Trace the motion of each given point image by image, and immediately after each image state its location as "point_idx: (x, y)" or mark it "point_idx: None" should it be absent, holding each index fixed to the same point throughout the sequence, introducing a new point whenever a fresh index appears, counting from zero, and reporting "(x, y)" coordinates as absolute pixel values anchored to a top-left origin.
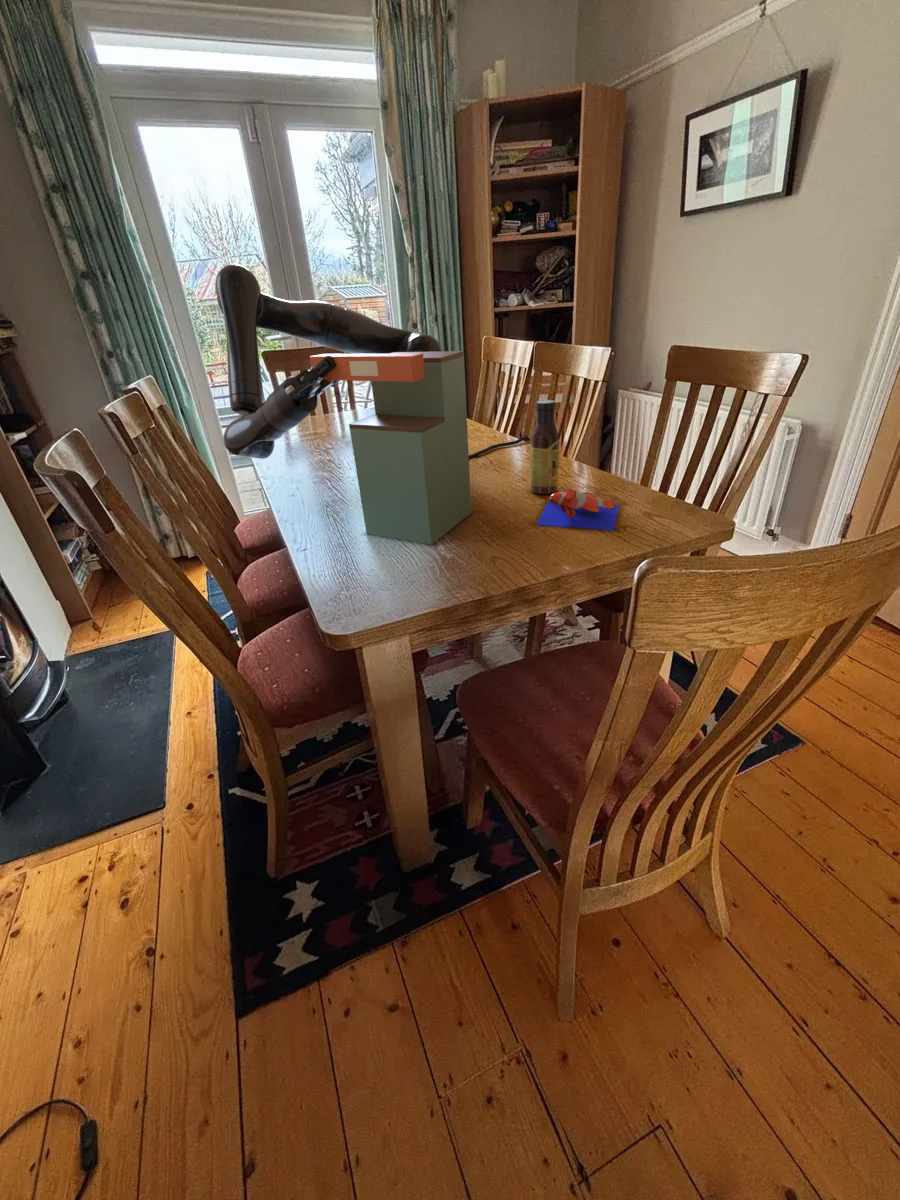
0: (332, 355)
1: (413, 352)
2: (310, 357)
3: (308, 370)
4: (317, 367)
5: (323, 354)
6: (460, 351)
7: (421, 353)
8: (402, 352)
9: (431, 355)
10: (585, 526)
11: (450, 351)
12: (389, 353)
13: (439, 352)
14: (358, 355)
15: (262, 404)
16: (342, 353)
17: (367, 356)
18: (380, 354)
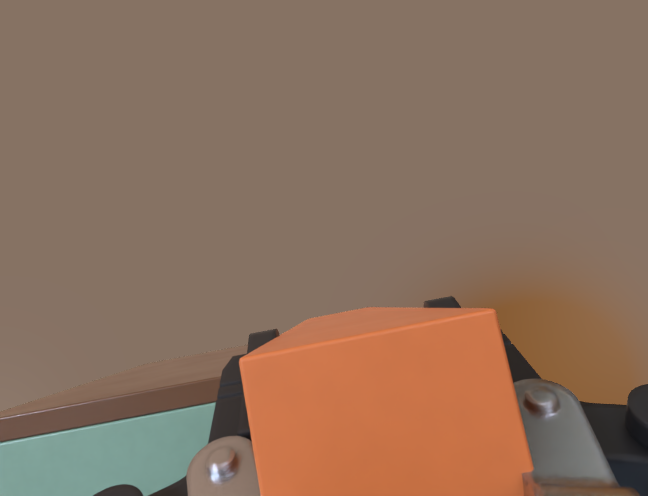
0: (380, 317)
1: (73, 390)
2: (496, 318)
3: (573, 485)
4: (532, 374)
5: (317, 338)
6: (152, 362)
7: (310, 318)
8: (29, 404)
9: (219, 353)
10: None
11: (133, 368)
12: (21, 413)
13: (143, 368)
14: (364, 313)
15: None
16: (275, 336)
17: (385, 307)
18: (330, 317)
